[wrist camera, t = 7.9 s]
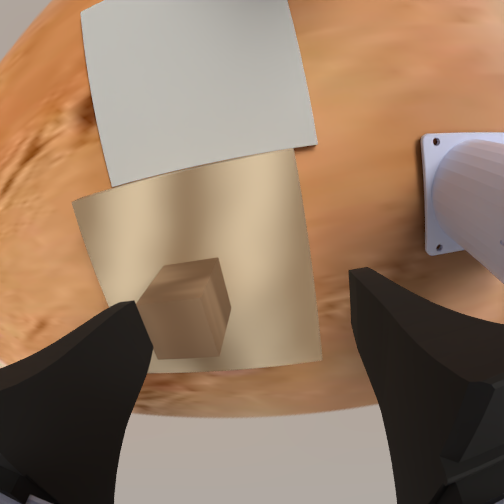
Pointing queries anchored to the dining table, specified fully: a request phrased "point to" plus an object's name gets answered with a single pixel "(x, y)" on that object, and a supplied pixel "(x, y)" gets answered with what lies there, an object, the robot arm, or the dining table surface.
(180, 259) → the oak lid
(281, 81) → the rubber mat
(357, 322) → the robot arm
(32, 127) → the dining table surface
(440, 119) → the dining table surface
